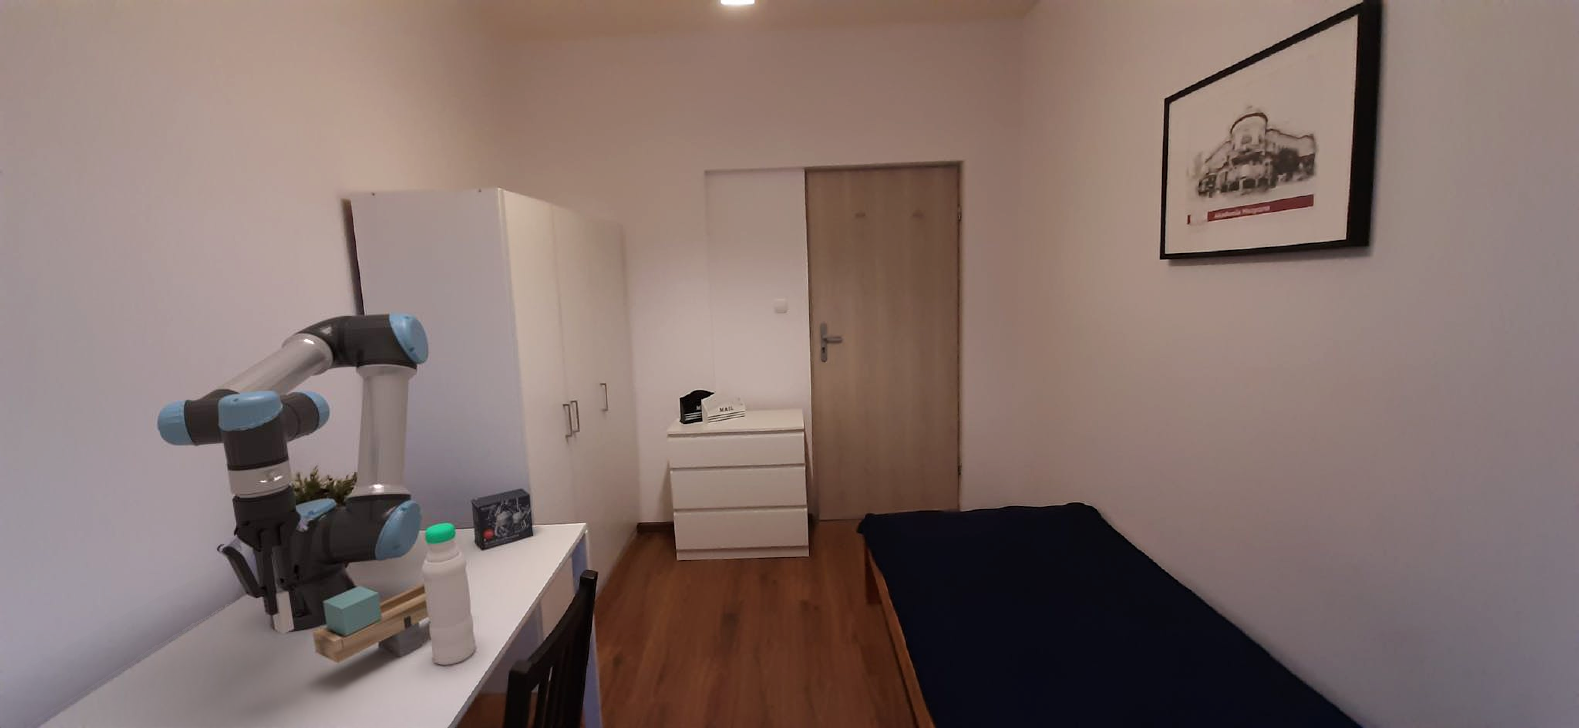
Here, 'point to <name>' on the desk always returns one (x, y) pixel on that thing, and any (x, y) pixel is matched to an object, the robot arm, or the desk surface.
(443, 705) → the desk surface
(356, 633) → the beam
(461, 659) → the white bottle
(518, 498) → the small box
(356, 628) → the block
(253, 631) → the desk surface
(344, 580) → the robot arm
